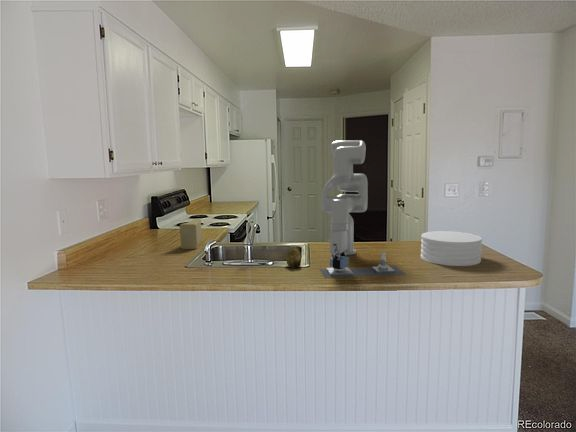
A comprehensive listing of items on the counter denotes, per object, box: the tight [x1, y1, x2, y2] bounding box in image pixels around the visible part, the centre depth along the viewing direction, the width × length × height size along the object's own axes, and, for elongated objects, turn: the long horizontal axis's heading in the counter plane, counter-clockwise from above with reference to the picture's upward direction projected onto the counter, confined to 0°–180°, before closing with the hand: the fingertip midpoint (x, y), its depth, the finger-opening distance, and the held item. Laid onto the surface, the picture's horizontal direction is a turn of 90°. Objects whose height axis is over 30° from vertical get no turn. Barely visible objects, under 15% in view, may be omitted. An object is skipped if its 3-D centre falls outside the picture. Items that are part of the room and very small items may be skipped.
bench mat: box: [319, 266, 408, 279], centre depth 178 cm, size 13×36×1 cm, turn 95°
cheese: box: [179, 218, 203, 250], centre depth 240 cm, size 22×10×15 cm, turn 174°
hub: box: [326, 266, 353, 276], centre depth 178 cm, size 10×10×6 cm
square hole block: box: [329, 255, 350, 268], centre depth 177 cm, size 6×6×4 cm
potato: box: [285, 247, 302, 269], centre depth 191 cm, size 8×13×8 cm, turn 170°
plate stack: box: [420, 230, 483, 267], centre depth 199 cm, size 28×28×12 cm
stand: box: [371, 252, 395, 273], centre depth 179 cm, size 8×8×8 cm
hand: (339, 266), depth 178 cm, fingers closed on square hole block, 6 cm apart
